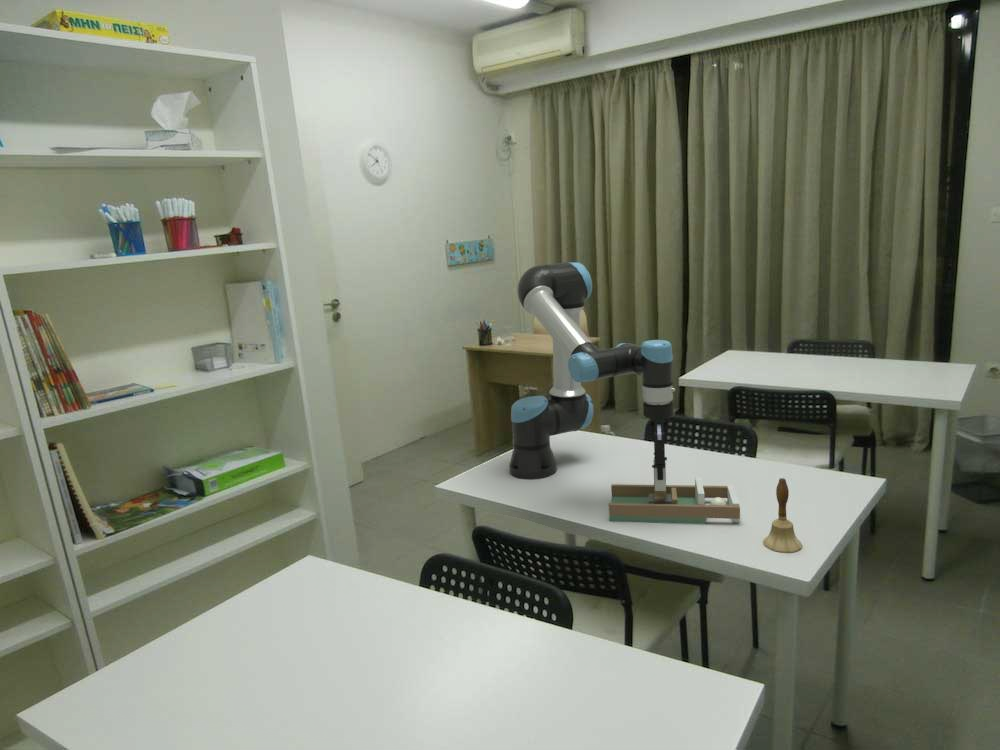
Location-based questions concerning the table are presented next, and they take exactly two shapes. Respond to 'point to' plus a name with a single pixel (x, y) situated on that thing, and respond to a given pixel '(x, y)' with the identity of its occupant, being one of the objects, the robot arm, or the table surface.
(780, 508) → the hand bell
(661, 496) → the kicker
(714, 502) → the ball
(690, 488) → the pitch
